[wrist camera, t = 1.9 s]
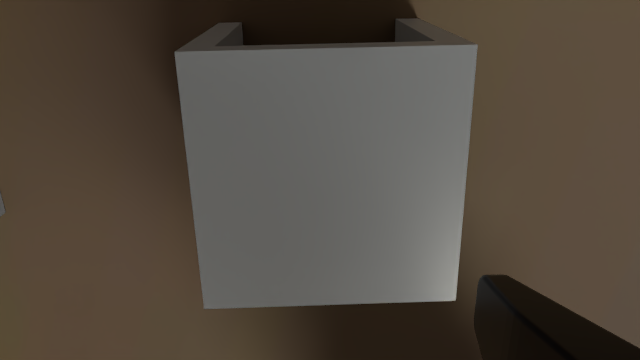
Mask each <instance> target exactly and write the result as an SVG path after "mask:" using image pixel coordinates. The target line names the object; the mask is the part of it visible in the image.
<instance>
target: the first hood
mask: <svg viewBox="0 0 640 360" xmlns="http://www.w3.org/2000/svg"><path fill="white" fill-rule="evenodd" d="M477 46H478V45H477V44H475V43H473V42H471V41H468V40H466V39H464V38H462V37H459V36H457V35H455V34H453V33H450V32H448V31H446V30H443V29H441V28H439V27H437V26H434V25H432V24H430V23H428V22H425V21H423V20H421V19H419V18H409V19H395V42H374V43H332V44H290V45H248V46H243V33H242V22H233V23H218V24H216V25H215V26H213V27H212V28H210V29H209V30H207V31H206V32H204V33H202V34H201V35H199V36H198V37H196V38H195V39H193V40H192V41H190V42H189V43H187V44H186V45H184V46H183V47H181V48H179V49H178V50H176V51H175V52H174V53H175V62H176V70H177V79H178V87H179V96H180V105H181V113H182V122H183V130H184V139H185V148H186V156H187V165H188V173H189V182H190V191H191V199H192V208H193V217H194V225H195V234H196V242H197V251H198V260H199V268H200V277H201V285H202V294H203V303H204V309H220V308H251V307H281V306H312V305H342V304H372V303H403V302H433V301H456V292H457V280H458V268H459V257H460V245H461V233H462V222H463V210H464V198H465V186H466V175H467V163H468V151H469V140H470V128H471V116H472V104H473V93H474V81H475V69H476V57H477Z"/></svg>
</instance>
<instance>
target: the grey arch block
mask: <svg viewBox="0 0 640 360" xmlns="http://www.w3.org/2000/svg"><path fill="white" fill-rule="evenodd" d="M4 213H5V208H4V205H3V201H2V197H1V193H0V216H1V215H3V214H4Z"/></svg>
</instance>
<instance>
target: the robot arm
mask: <svg viewBox="0 0 640 360" xmlns="http://www.w3.org/2000/svg"><path fill="white" fill-rule="evenodd" d="M474 328H475V333H476V336H477V340H478V344H479V347H480V351H481V354H482V358H483V360H640V348H638V347H636V346H634V345H633V344H631V343H629V342H627V341H625V340H624V339H622V338H620V337H618V336H616V335H614V334H613V333H611V332H609V331H607V330H605V329H604V328H602V327H600V326H598V325H596V324H594V323H593V322H591V321H589V320H587V319H585V318H584V317H582V316H580V315H578V314H576V313H574V312H573V311H571V310H569V309H567V308H565V307H564V306H562V305H560V304H558V303H556V302H554V301H553V300H551V299H549V298H547V297H545V296H544V295H542V294H540V293H538V292H536V291H535V290H533V289H531V288H529V287H527V286H525V285H524V284H522V283H520V282H518V281H516V280H515V279H513V278H511V277H509V276H507V275H483V276H482V277H481V278H480V280H479V282H478V288H477V297H476V305H475V313H474Z"/></svg>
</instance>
